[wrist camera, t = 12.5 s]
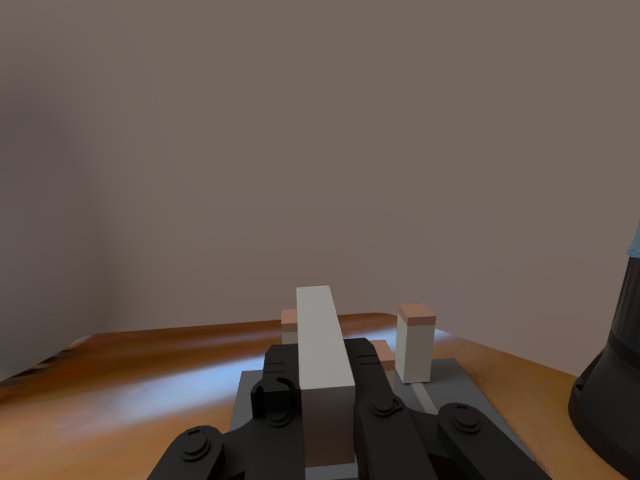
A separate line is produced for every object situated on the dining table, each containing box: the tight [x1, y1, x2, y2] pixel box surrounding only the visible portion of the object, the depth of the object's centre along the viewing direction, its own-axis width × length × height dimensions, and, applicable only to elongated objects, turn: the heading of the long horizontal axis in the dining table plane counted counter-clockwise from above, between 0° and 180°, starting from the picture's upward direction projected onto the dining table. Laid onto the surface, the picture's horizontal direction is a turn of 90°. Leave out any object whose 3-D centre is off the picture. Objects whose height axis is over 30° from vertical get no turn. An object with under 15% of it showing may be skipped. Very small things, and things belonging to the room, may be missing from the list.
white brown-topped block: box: [281, 309, 298, 344], centre depth 35 cm, size 3×3×8 cm
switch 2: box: [395, 303, 436, 383], centre depth 36 cm, size 3×3×8 cm
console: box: [229, 358, 536, 480], centre depth 33 cm, size 26×14×2 cm, turn 95°
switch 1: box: [370, 340, 396, 392], centre depth 29 cm, size 3×3×8 cm
